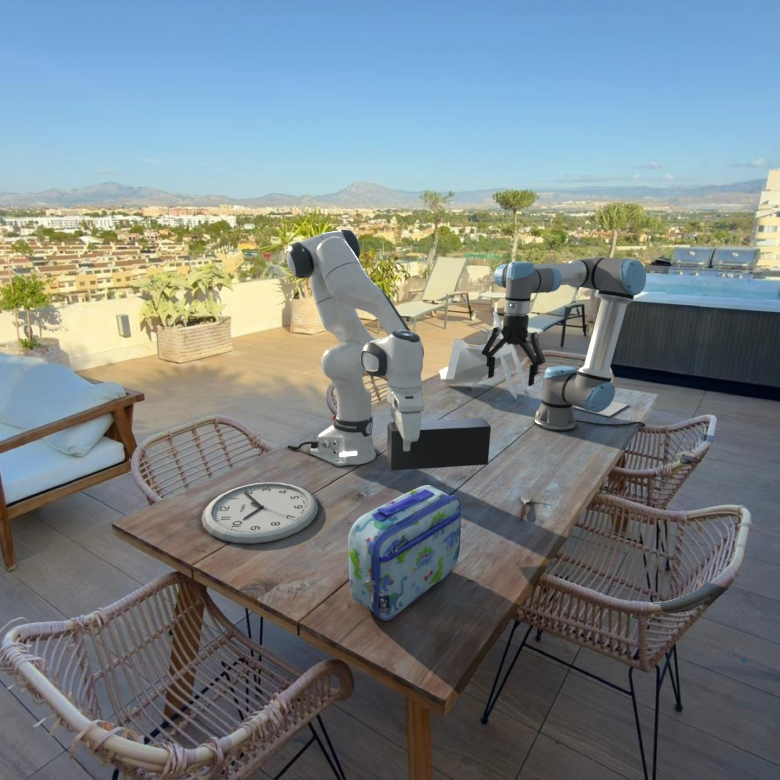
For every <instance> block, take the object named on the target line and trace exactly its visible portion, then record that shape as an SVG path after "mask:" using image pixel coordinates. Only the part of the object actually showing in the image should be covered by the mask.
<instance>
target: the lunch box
mask: <svg viewBox="0 0 780 780" xmlns="http://www.w3.org/2000/svg"><path fill="white" fill-rule="evenodd" d="M461 520H462V506H461V500H460V498H459V497H458V496H457V495H454V494H450V495H449V494H448V493H445V492H444V491H442V490H440V489H438V488H436V487H435V486H432V485H430V484H425V485H420V486H418V487H416V488H415V489H412V490H410V491H408V492H406V493H404V494H402V495H400V496H398V497H396V498H394V499H392V500H390V501H388V502H386V503H384V504H382V505H380V506H378V507H377V508H375V509H372V510H371V511H368V512H367V513H365V514H362V515H361V516H359V517H357V519H356V520H355V521H354V523H353V524H352V526H351V528H350V530H349V533H348V536H347V537H348V538H347V557H348V559H347V560H348V586H349V592H350V597H351V599H352V600H353V601H355V602H356V603H358V604H360V605H362V606H364V607H365V608H366V609H368V610H369V611H371V612H372V613H374V615H375V616H376V617H377V618H379V619H380V620H383V621H390V620H393V619H394V618H395V617H397V616H398V615H399V614H400V613H401V612H402V611H403V610H405V609H406V608H407V607H408V606H409V605H411V604H412V603H414V602H415V601H416V600H417V599H419V598H420V597H421V596H422V595H424V594H425V593H426V592H427V591H429V589H431V588H432V587H433V586H435V585H436V584H438V583H439V582H440V581H442V580H444V579H445V578H446V577H448V575H450V573H451V572H452V571H453V570H454V568H455V566H456V564H457V562H458V559H459V555H460V552H461V551H460V549H461V535H462V534H461V533H462V521H461Z"/></svg>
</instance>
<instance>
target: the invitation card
mask: <svg viewBox="0 0 780 780" xmlns="http://www.w3.org/2000/svg"><path fill="white" fill-rule="evenodd" d="M628 406H629V404H627V403H623V402H618V401H614V400H612V402H611V404H610V405H609V406H608V407H607V408H606V409H605V410H603V411H601V412H592V411H587V410H585V409H583V408H580V407H577V406H574V407H573V409H575V410H581V411H584V412H587V413H593V414H596V415H600V416H604V417H608V418H609V417H611V416H613V415H614V414H616V413H617V412H619V411H621V410H623V409H624V408H626V407H628Z"/></svg>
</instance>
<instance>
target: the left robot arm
mask: <svg viewBox="0 0 780 780" xmlns="http://www.w3.org/2000/svg"><path fill="white" fill-rule="evenodd" d="M360 257H361V246H360V241H359V240H358V237H357V235H356V234H355V233H354V232H353V231H352V230H351V229H345V228H343V229H342V228H341V229H337V230H335V231H329V232H324V233H320V234H317V235H315V236H311V237H309V238H306V239H304V240H301V241H296V242H293V243H291V244H290V245H289V246H288V248H287V250H286V264H287V266H288V269H289V270H290V272H291V273H292V275H293V276H294V277H296V278H298V279H300V280H301V279H302V280H303V279H309V285H310V289H311V294H312V297H313V300H314V304H315V306H316V309H317V312H318V315H319V317H320V320H321V322H322V325H323V328H324V329H325V330H326V332H329V333H331V334H332V335H333V336H334V337H335V338H336V339H337V341H338V342H339V343H338V344H335V345H333V346H332V347H331V348H328V349H327V350H326V351H325V352H324V353H323V354H322V356H321V360H320V364H321V365H320V366H321V370H322V372H323V374H324V375H325V376H326V378H328V379H329V380H330V381H331V382H332V384H333V387H334V389H335V395H336V410H337V411H336V414H334V415H333V416H331V417H330V422H333V424H331V425H330V426H328V427H327V428H325V429H324V430H323V431H321V432H320V433H319V434H318V436H314V437H313V438H312V439H311V440H310V441H309V440H308V441H304V442H303V441H302V442H301V443H300V444H299V445H298V446H293V445H287V449H291V450H300V449H301V448H302V447H303V446H306V445H310V449H309V454H310V455H312V456H314V457H317V458H318V459H321V460H323V461H326V462H327V463H330V464H332V465H334V466H336V467H344V466H351V465H354V466H356V465H364V464H367V463H370V462H372V461H374V460H375V459H376V457H377V453H376V450H375V446H374V439H373V427H374V419H373V417H374V415H373V414H372V393H371V390H370V389H369V388H367V387H366V386H365V382H364V373H367V374H368V375H369V376H371V377H381V378H382V377H384V378H387V387H386V388H387V391H386V392H387V393H386V401H387V402H388V403H389V404H390V416H391V418H392V420H393V422H395V424H396V426H397V428H398V430H399V432H400V434H401V436H402V438H403V443H402V449H403V451H410V444H411V442H416V441H418V439H419V435H420V426H421V421H422V412H424V409H425V403H424V400H423V379H422V371H423V369H424V368H423V367H424V357H425V356H424V355H425V349H424V346H423V345H424V344H423V342H422V339H421V336H420V335H419V334H418V333H416V332H414V331H412V330H411V329H410V328H409V326H408V325H407V324H406V322H405V321H404V319H403V317H402V316H401V314H400V313H399V311H398V309H397V308H396V306H395V305H394V304H393V302H392V300H391V299H390V297H389V296H388V295H387V293H386V292H385V291H384V290H383V289H382V288H380V287H379V286H378V285H376V284H375V282H374V281H373V280H372V279H371V278H370V277H369V276H368V275H367V273H366V271H365V270H364V268H363V266H362V264H361V262H360V260H359V259H360ZM356 309H357V310H360V311H363V312H366V313H368V314H370V315H372V316H373V317H375V318H376V320H377V321H378V322H379V324H380V325H381V327H382V329H383V330H384V332H385V333H386V334H387V336H384V337H382V338H379V339H378V338H376V337H374V336H373V335H372V334H371V333H370V331H369V330H368V328H367V327H366V326H365V325H364V324H363V322H362V320H361V319H360V317H359V315H358V312H357V310H356Z"/></svg>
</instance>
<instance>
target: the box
mask: <svg viewBox="0 0 780 780" xmlns="http://www.w3.org/2000/svg"><path fill="white" fill-rule="evenodd" d="M491 429H492V426H491V424H489V422H487V420H485V418H484V417H473V418H471V417H470V418H452V419H430V420H421V426H420V435H419V439H418V441H416V442H411V444H410V451H403V449H402V443H403V438H402V436H401V434H400V432H399V430H398V428H397V426H396V424H395V422H394V421H390V422H387V434H386V435H387V436H386V439H387V441H386V442H387V443H386V445H387V446H386V461H387V464H388V467H389V470H390V471H393V472H394V471H409V470H425V469H437V468H438V469H441V468H457V467H471V466H486V465H487V466H488V465H489V458H490V457H489V454H490V443H491V431H492V430H491Z"/></svg>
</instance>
